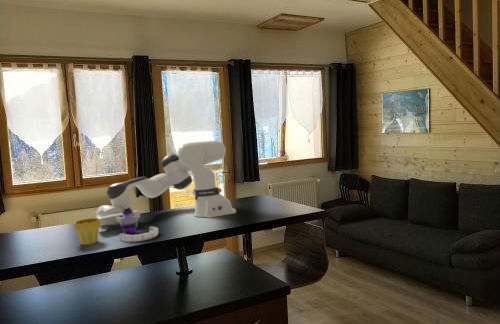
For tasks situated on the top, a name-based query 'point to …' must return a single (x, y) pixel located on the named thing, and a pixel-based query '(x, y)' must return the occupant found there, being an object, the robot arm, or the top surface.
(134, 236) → the white segmented arc
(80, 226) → the plant pot
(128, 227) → the potion bottle
